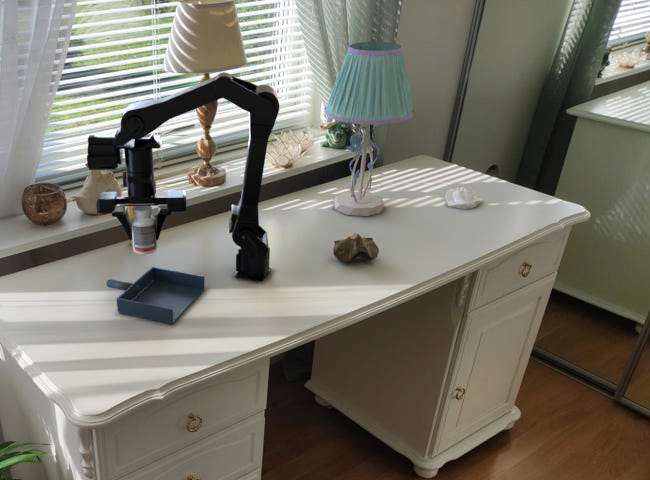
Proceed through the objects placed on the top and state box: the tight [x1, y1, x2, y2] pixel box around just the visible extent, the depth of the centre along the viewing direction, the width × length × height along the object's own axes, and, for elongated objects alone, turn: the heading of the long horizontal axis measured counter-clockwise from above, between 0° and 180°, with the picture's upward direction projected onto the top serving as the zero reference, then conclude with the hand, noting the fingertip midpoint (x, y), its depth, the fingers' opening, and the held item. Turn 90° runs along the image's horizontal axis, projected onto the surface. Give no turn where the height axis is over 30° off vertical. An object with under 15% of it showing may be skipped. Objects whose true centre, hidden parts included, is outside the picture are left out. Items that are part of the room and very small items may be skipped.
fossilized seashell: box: [332, 232, 380, 263], centre depth 163 cm, size 8×7×10 cm
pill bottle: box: [131, 206, 158, 255], centre depth 154 cm, size 5×5×10 cm
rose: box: [444, 186, 484, 210], centre depth 191 cm, size 10×4×10 cm
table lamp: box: [324, 41, 415, 217], centre depth 180 cm, size 22×22×40 cm
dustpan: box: [106, 266, 205, 326], centre depth 150 cm, size 19×16×3 cm
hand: (144, 239), depth 156 cm, fingers closed on pill bottle, 5 cm apart
